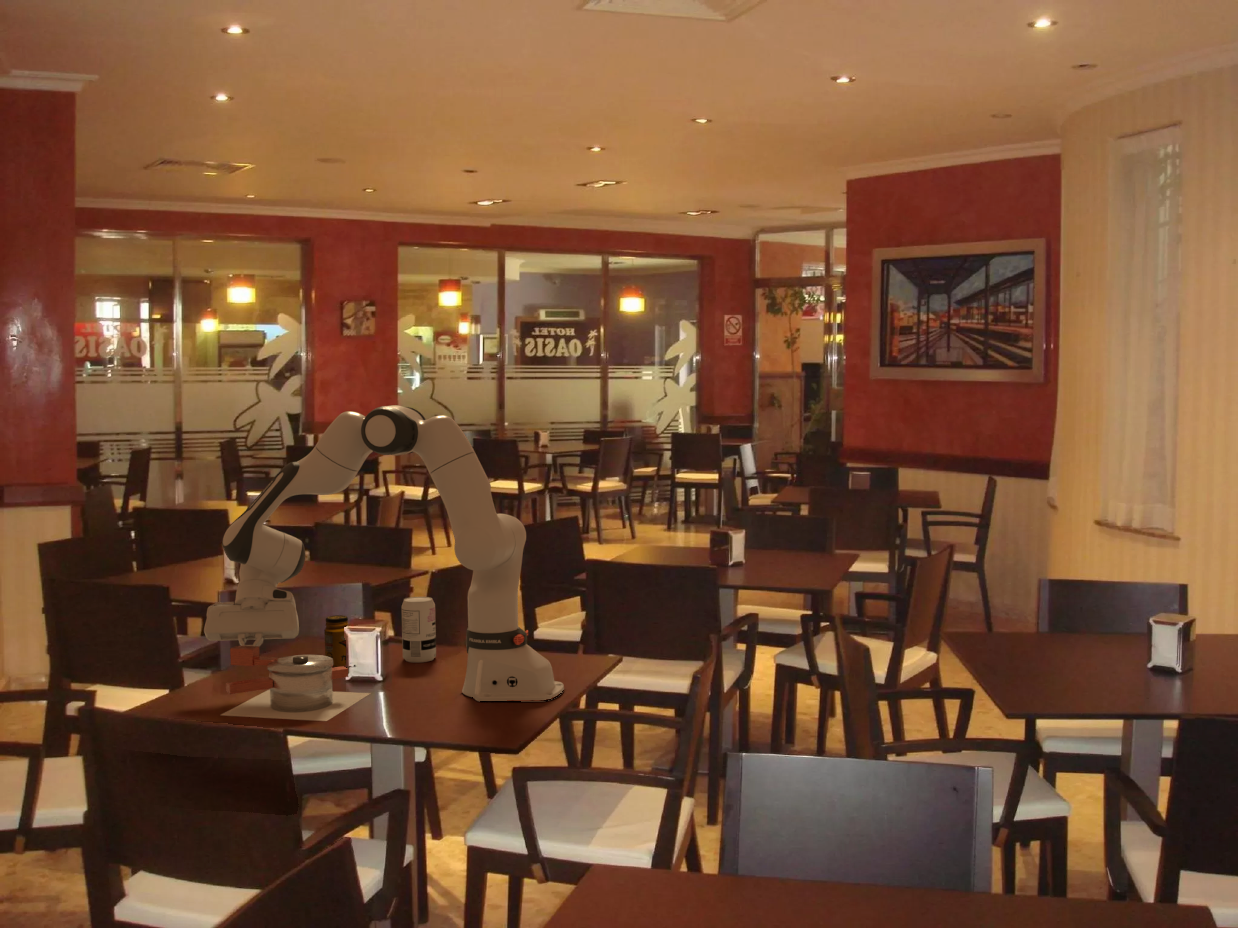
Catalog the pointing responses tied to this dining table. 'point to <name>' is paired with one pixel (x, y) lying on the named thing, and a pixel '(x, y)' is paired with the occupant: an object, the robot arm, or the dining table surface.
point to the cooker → (294, 689)
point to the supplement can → (418, 629)
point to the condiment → (336, 639)
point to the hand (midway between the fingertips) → (248, 653)
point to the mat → (262, 709)
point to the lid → (280, 661)
